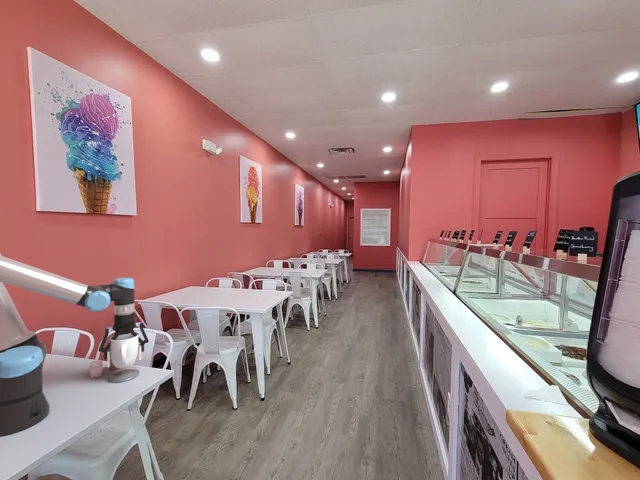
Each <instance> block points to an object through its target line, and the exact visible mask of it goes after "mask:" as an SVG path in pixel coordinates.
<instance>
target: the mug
mask: <svg viewBox="0 0 640 480" xmlns="http://www.w3.org/2000/svg"><path fill="white" fill-rule="evenodd" d="M135 332H136V334H137V336H136V337H134V336H133V335H132V334H131V333H129V334H124V335H119V336H118V337H117V338H116V340H111V338H112V337H113V336H114V334H113V335H112V336H110V337H109V339H108V340H109V341H108V343H109V342H110V341H111V347H110V348H109V351H110V360H111V361H112V363H113V365H114V366H115V367H116V368H121V369H124V368H128V367H130V366H132V365H133V364H134V363H135V362H136V360H137V357H138V356H139V344H140V343H139V342H138V337H140V334H139V332H138V331H135Z"/></svg>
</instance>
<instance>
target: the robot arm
mask: <svg viewBox="0 0 640 480" xmlns="http://www.w3.org/2000/svg"><path fill="white" fill-rule="evenodd" d="M112 282H113V283H110V284H109V283H108V284H99V285H87V284H84V283H82V282H79V281H76V280H73V279H70V278H68V277H64V276H61V275H58V274H56V273H53V272H50V271H47V270H44V269H41V268H38V267H36V266H32V265H30V264H28V263H24V262H20V261H17V260H14V259H12V258H9V257H7V256H4V255H2V253H1V252H0V437H2V436H3V437H4V436H7V435H12V434H15V433H18V432H21V431H23V430H26V429H28V428H31V427H33V426H35V425H37V424H38V423H40V422H42V421H43V420H44V419H45V418H47V416H49V414H50V412H51V411H50V403H49V401H48V399H47V398H46V396H45V393H44V392H43V390H44V389H43V387H44V386H43V379H44V378H43V376H44V375H43V373H44V371H43V370H44V369H43V368H44V364H45V359H46V357H47V347H46V345H45V344H44V343H43V342H42V341H41V340H40V339H39V337H38V335H37V333H36V332H35V331H31V330H28V328H27V326H26V324H25V323H24V320H23V319H22V317H21V315H20V312H19V311H18V309H17V307H16V305H15V303H14V301H13V299H12V297H11V295H10V294H9V291H8V289H7V288H6V286H5V284H6V285H9V286H13V287H17V288H20V289H23V290H26V291H29V292H33V293H36V294H40V295H42V296H47V297H49V298H53V299H56V300H60V301H62V302H63V301H64V302H67V303H69V304H73V305H76V306H79V307H83V308H85V309H87V310H88V311H90V312H94V313H98V312H103V311H104V310H106V309H108V307H109V306H110V304H111V302H113V314H114V315H113V325H112V326H110V327H108V326H106V327H105V328H104V334H103V337H102V340H101V342H100V345H99V347H98V352H99V353H103V359H104V360H105V361H106V360H107V368H109V367H110V360H111V358H110V351H109V348H110V347H111V341H110V342H109V341H108V343H107V344H106V342H107V339H108V337H109V334H110V333H111V332H112V331H114V334H113V335H114V336H113V335H112V336H113V337H112V338H111V340H116V338H117V337H118V336H119V335H124V334H129V333H131V334H132V335H133V336H134V337H136V336H137V334H136V332H137V331H135V330H134V329H135V328H136V327H137V328H139V330H140V333H141V335H142V337H143V339H142V338H141V337H140V336H139V337H138V342H139V351H138V359H139V361H141V360H142V352H143V353H144V351H145V344H148V343H149V342H150V340H149V338H148V335H147V333H146V332H145V329H144V323H143V322H142V321H139V322H136V320H135V319H136V318H135V317H136V315H135V311H136V310H135V289H136V288H135V280H134V279H133V278H132V277H119V278H115V279H114V280H113V281H112ZM105 344H106V345H105Z"/></svg>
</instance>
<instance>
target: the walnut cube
mask: <svg viewBox="0 0 640 480" xmlns="http://www.w3.org/2000/svg"><path fill="white" fill-rule="evenodd" d="M108 369H109V370H110V371H111V372H113V371H114V372H115V371H117V370H121V369H122V368H116V367H115V366H114V365H113V363H112V361H111V359H110V367H108Z"/></svg>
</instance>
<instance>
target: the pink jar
mask: <svg viewBox="0 0 640 480" xmlns="http://www.w3.org/2000/svg"><path fill="white" fill-rule="evenodd" d="M103 362H104V361H103V360H101V359H99V360H98V359H97V360H94V361H91V362H90V363H89V378H90V377H91V379H95V377H96V378H98V377H101V376H103Z"/></svg>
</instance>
